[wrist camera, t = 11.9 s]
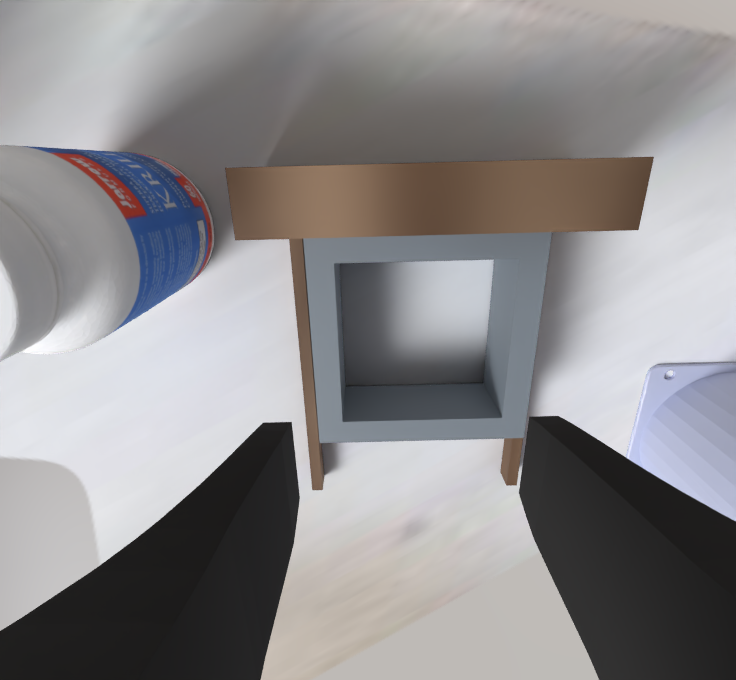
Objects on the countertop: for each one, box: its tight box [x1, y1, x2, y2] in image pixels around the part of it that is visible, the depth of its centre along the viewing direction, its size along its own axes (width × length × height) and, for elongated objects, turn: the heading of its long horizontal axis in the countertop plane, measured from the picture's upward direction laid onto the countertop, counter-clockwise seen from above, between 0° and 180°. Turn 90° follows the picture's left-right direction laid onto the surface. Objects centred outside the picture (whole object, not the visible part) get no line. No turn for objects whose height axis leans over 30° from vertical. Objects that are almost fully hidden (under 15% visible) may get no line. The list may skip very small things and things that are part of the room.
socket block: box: [303, 232, 552, 443], centre depth 18 cm, size 8×8×3 cm
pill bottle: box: [0, 145, 214, 361], centre depth 13 cm, size 6×5×10 cm
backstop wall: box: [225, 157, 654, 490], centre depth 17 cm, size 12×15×5 cm
